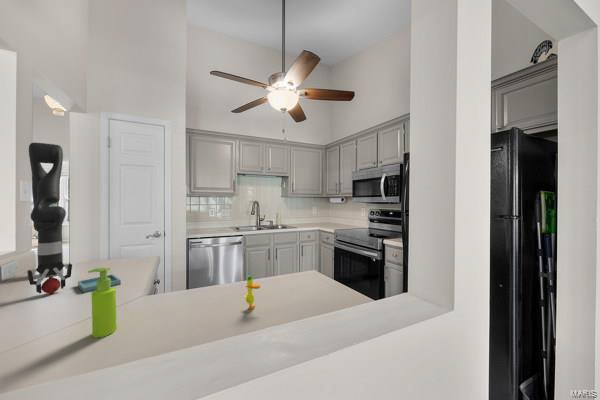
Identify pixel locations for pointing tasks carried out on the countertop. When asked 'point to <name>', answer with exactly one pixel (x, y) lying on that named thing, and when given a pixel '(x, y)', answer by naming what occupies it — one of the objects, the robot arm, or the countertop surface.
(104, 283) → the soap dispenser
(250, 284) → the toy figure
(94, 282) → the tray
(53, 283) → the onion
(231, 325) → the countertop surface
